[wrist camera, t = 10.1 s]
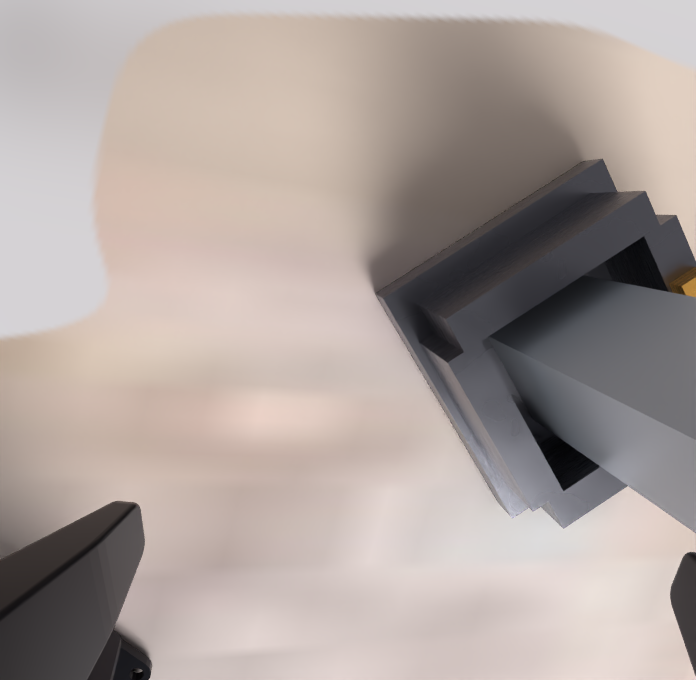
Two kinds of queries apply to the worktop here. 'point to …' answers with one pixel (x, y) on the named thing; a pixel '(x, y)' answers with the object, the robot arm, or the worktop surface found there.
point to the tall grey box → (614, 382)
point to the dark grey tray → (516, 299)
